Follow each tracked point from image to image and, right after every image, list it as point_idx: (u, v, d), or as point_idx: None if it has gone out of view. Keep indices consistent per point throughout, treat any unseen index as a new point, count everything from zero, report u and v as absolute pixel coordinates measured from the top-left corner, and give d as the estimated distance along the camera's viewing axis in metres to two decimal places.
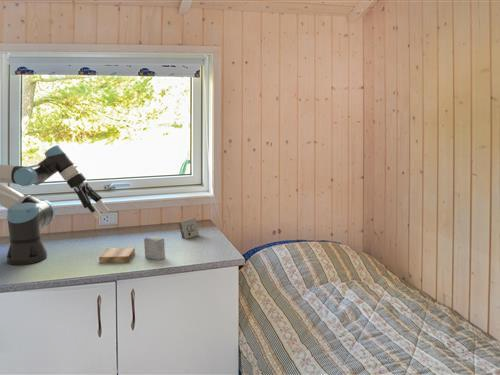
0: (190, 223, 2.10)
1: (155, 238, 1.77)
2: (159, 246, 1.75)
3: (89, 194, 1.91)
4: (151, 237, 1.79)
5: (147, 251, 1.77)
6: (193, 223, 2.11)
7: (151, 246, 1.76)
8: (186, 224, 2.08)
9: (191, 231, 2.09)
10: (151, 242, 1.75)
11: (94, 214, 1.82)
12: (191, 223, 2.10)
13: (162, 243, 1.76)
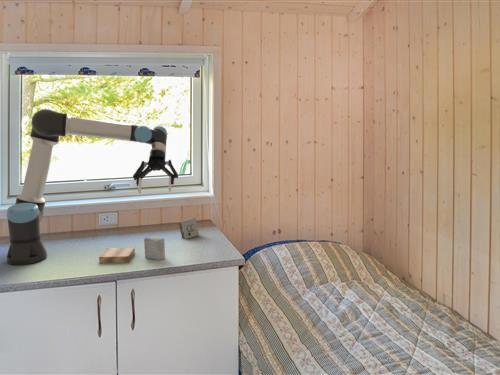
0: (190, 223, 2.10)
1: (155, 238, 1.77)
2: (159, 246, 1.75)
3: (148, 170, 1.92)
4: (151, 237, 1.79)
5: (147, 251, 1.77)
6: (193, 223, 2.11)
7: (151, 246, 1.76)
8: (186, 224, 2.08)
9: (191, 231, 2.09)
10: (151, 242, 1.75)
11: (170, 184, 1.87)
12: (191, 223, 2.10)
13: (162, 243, 1.76)
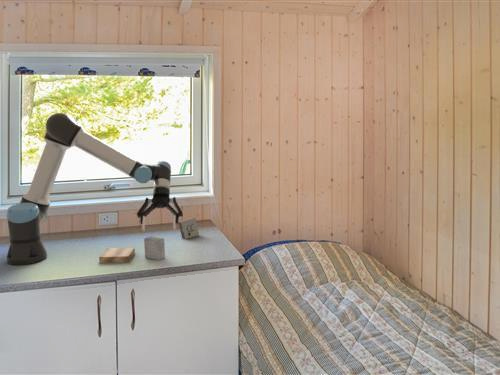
0: (190, 223, 2.10)
1: (155, 238, 1.77)
2: (159, 246, 1.75)
3: (152, 208, 1.89)
4: (151, 237, 1.79)
5: (147, 251, 1.77)
6: (193, 223, 2.11)
7: (151, 246, 1.76)
8: (186, 224, 2.08)
9: (191, 231, 2.09)
10: (151, 242, 1.75)
11: (175, 223, 1.85)
12: (191, 223, 2.10)
13: (162, 243, 1.76)
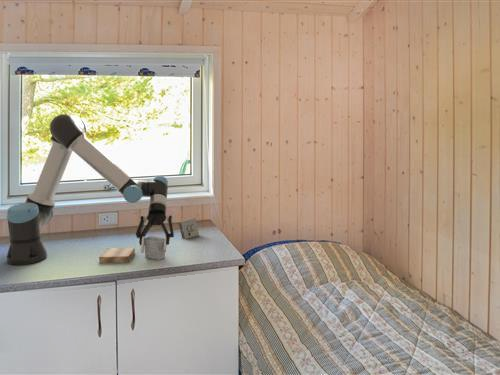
0: (190, 223, 2.10)
1: (155, 238, 1.77)
2: (159, 245, 1.75)
3: (149, 226, 1.81)
4: (151, 237, 1.79)
5: (147, 251, 1.77)
6: (193, 223, 2.11)
7: (151, 245, 1.76)
8: (186, 224, 2.08)
9: (191, 231, 2.09)
10: (151, 242, 1.75)
11: (165, 245, 1.76)
12: (191, 223, 2.10)
13: (162, 243, 1.76)
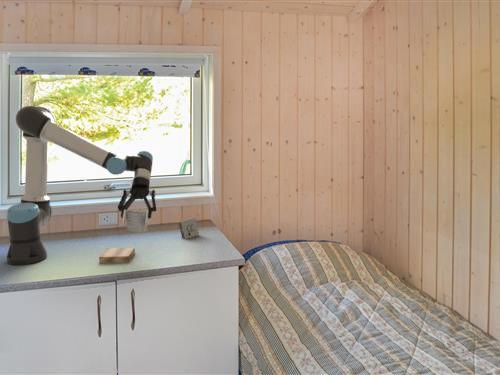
0: (190, 223, 2.10)
1: (137, 211, 1.75)
2: (141, 219, 1.73)
3: (132, 200, 1.80)
4: (133, 210, 1.77)
5: (129, 225, 1.76)
6: (193, 223, 2.11)
7: (133, 218, 1.74)
8: (186, 224, 2.08)
9: (191, 231, 2.09)
10: (133, 215, 1.74)
11: (147, 218, 1.74)
12: (191, 223, 2.10)
13: (144, 216, 1.74)
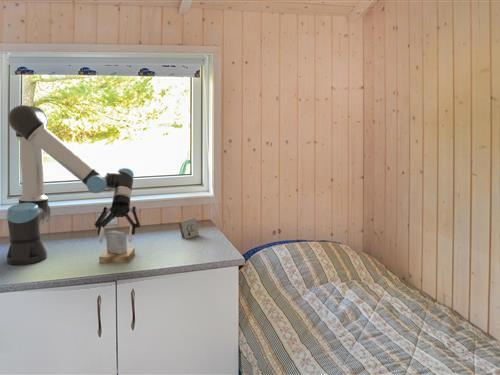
0: (190, 223, 2.10)
1: (117, 232, 1.76)
2: (121, 240, 1.75)
3: (110, 217, 1.81)
4: (113, 231, 1.78)
5: (109, 246, 1.77)
6: (193, 223, 2.11)
7: (112, 240, 1.75)
8: (186, 224, 2.08)
9: (191, 231, 2.09)
10: (112, 237, 1.75)
11: (131, 235, 1.76)
12: (191, 223, 2.10)
13: (123, 237, 1.76)
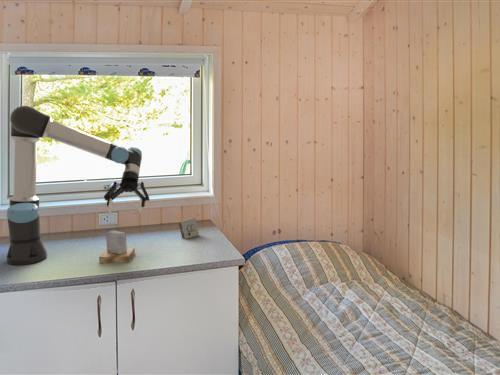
0: (190, 223, 2.10)
1: (117, 232, 1.76)
2: (121, 240, 1.75)
3: (119, 192, 1.93)
4: (113, 231, 1.78)
5: (109, 246, 1.77)
6: (193, 223, 2.11)
7: (112, 240, 1.75)
8: (186, 224, 2.08)
9: (191, 231, 2.09)
10: (112, 237, 1.75)
11: (141, 207, 1.88)
12: (191, 223, 2.10)
13: (123, 237, 1.76)
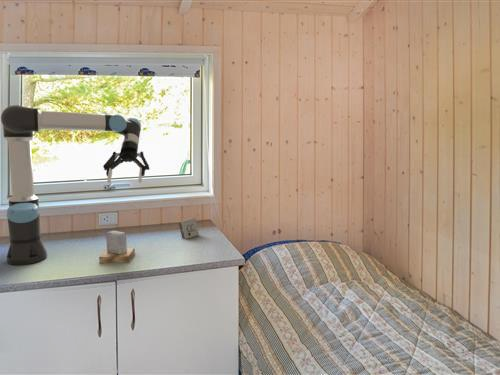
0: (190, 223, 2.10)
1: (117, 232, 1.76)
2: (121, 240, 1.75)
3: (119, 161, 1.90)
4: (113, 231, 1.78)
5: (109, 246, 1.77)
6: (193, 223, 2.11)
7: (112, 240, 1.75)
8: (186, 224, 2.08)
9: (191, 231, 2.09)
10: (112, 237, 1.75)
11: (141, 176, 1.86)
12: (191, 223, 2.10)
13: (124, 237, 1.76)
